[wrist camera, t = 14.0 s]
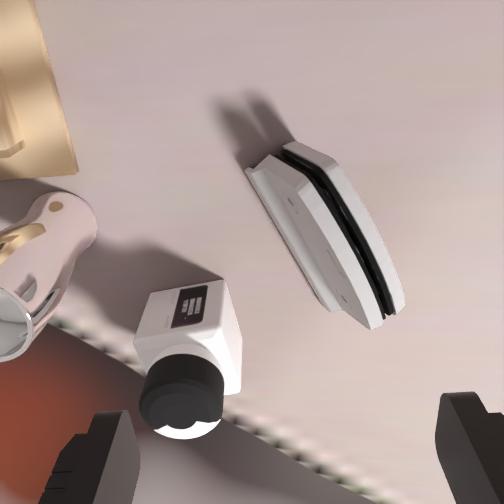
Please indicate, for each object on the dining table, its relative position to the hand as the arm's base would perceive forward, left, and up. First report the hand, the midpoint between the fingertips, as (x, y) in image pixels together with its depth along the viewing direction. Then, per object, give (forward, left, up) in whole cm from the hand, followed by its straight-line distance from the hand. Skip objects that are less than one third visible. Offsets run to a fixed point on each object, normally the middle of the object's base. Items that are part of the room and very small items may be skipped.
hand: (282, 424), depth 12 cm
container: (+18, -8, -30) cm, 36 cm away
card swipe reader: (+9, +5, -30) cm, 32 cm away
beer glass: (+7, -19, -30) cm, 36 cm away
